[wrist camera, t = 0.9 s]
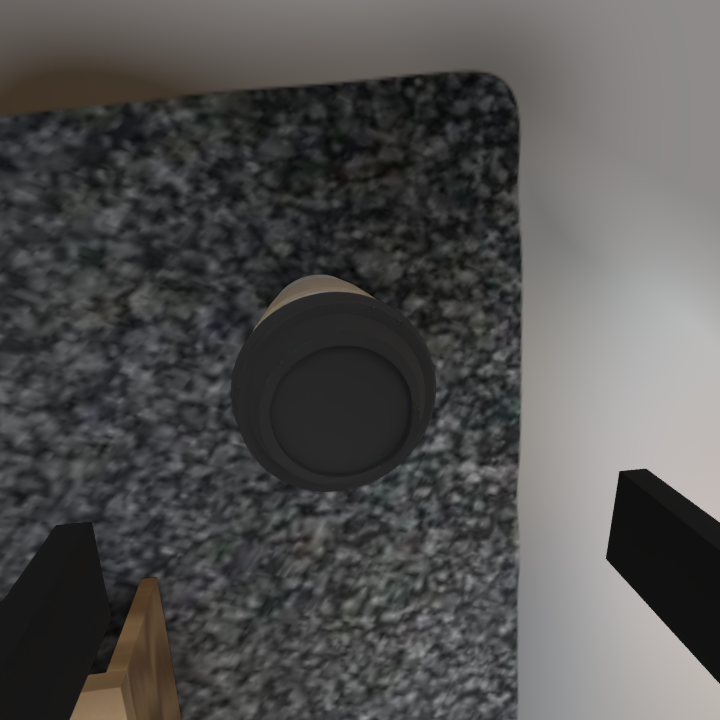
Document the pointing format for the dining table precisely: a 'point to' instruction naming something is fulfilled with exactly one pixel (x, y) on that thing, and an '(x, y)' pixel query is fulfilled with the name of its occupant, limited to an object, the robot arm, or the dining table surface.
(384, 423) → the coffee cup
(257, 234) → the dining table surface
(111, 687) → the board
